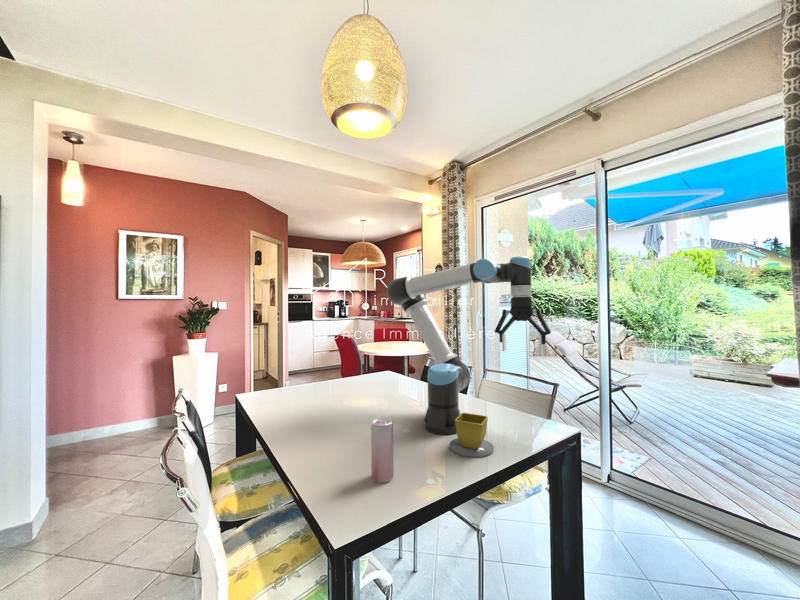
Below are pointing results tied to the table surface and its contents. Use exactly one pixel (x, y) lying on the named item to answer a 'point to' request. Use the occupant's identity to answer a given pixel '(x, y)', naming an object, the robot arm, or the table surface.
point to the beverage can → (382, 450)
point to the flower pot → (471, 429)
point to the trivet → (482, 451)
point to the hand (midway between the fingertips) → (522, 352)
